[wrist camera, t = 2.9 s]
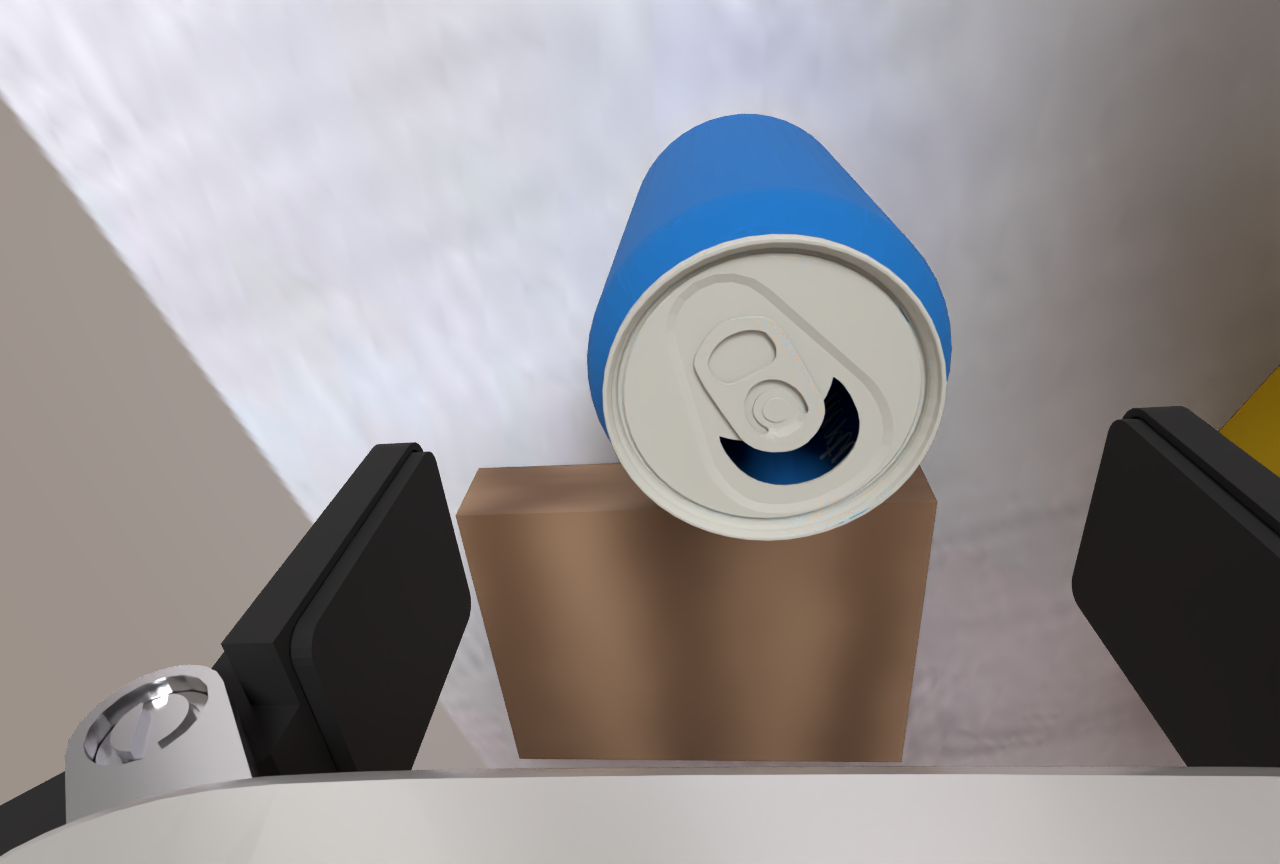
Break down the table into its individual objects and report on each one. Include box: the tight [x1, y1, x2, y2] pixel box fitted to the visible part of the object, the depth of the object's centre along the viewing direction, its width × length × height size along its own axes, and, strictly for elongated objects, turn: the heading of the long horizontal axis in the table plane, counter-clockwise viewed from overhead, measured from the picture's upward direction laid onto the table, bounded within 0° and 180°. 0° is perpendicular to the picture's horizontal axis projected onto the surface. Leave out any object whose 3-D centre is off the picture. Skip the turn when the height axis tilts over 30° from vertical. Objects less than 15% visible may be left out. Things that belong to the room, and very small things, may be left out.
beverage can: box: [587, 114, 952, 541], centre depth 17 cm, size 6×6×12 cm
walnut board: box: [456, 463, 937, 762], centre depth 29 cm, size 16×13×3 cm
